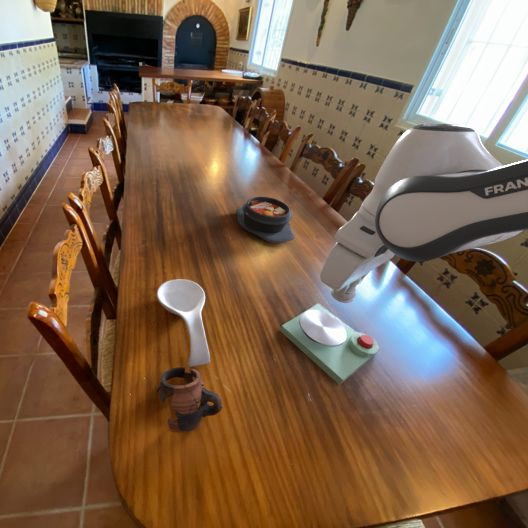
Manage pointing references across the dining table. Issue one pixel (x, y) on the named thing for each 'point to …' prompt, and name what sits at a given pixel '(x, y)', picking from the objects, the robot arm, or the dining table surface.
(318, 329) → the pan
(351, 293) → the rook chess piece
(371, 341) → the tare button
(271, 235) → the casserole
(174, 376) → the pottery mug
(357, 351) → the scale
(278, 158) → the dining table surface
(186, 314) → the spoon rest
